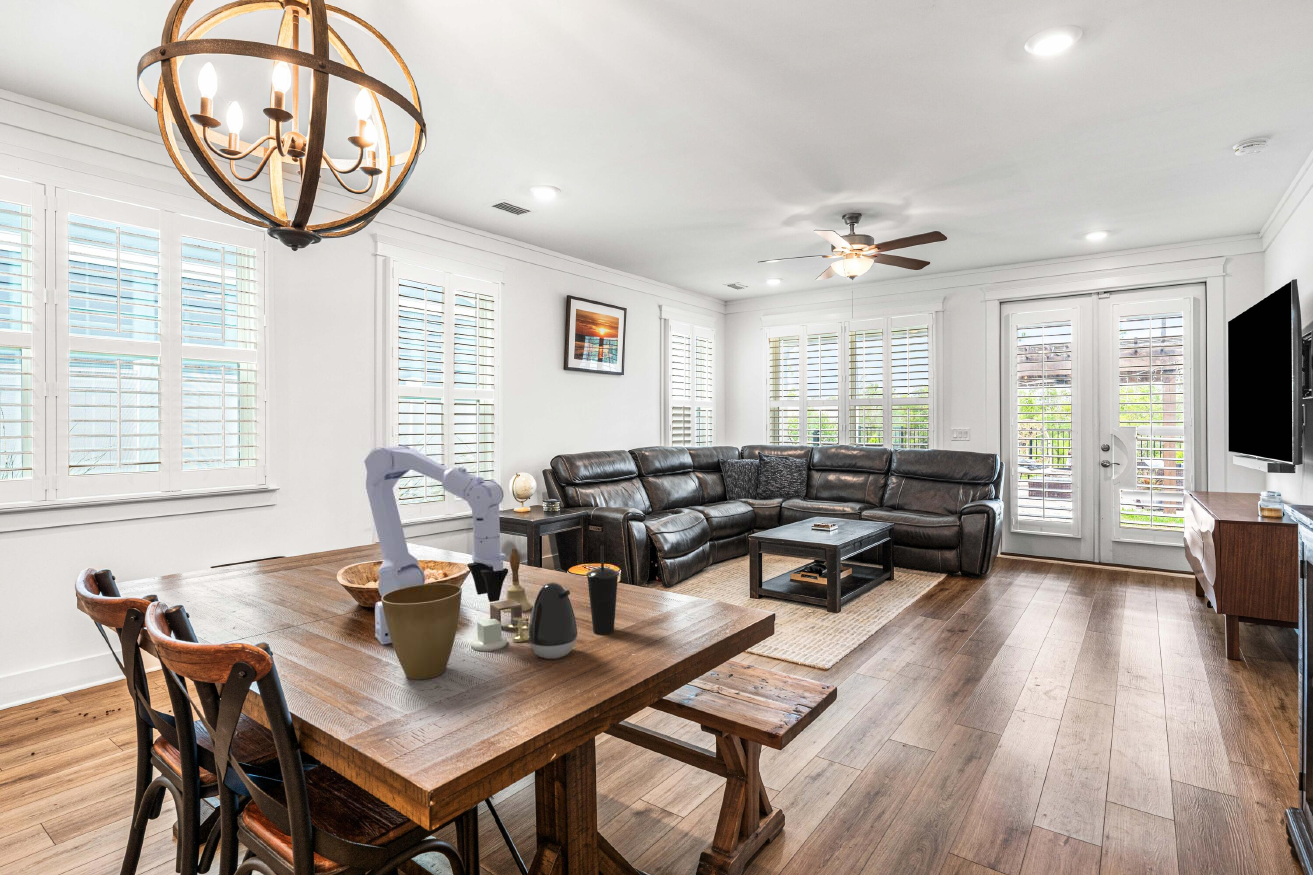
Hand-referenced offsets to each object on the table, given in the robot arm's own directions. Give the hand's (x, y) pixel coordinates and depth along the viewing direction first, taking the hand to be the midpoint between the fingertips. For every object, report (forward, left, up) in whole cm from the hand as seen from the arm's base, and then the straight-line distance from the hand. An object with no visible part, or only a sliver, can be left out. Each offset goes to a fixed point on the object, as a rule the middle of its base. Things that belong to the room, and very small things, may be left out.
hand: (488, 597), depth 145 cm
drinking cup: (+24, -8, -10) cm, 28 cm away
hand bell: (+15, +23, -10) cm, 29 cm away
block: (0, -1, -9) cm, 9 cm away
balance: (+6, -2, -10) cm, 12 cm away
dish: (-1, -1, -10) cm, 10 cm away
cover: (+8, +10, -10) cm, 17 cm away
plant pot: (-17, -9, -10) cm, 22 cm away
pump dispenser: (+8, -15, -10) cm, 21 cm away
